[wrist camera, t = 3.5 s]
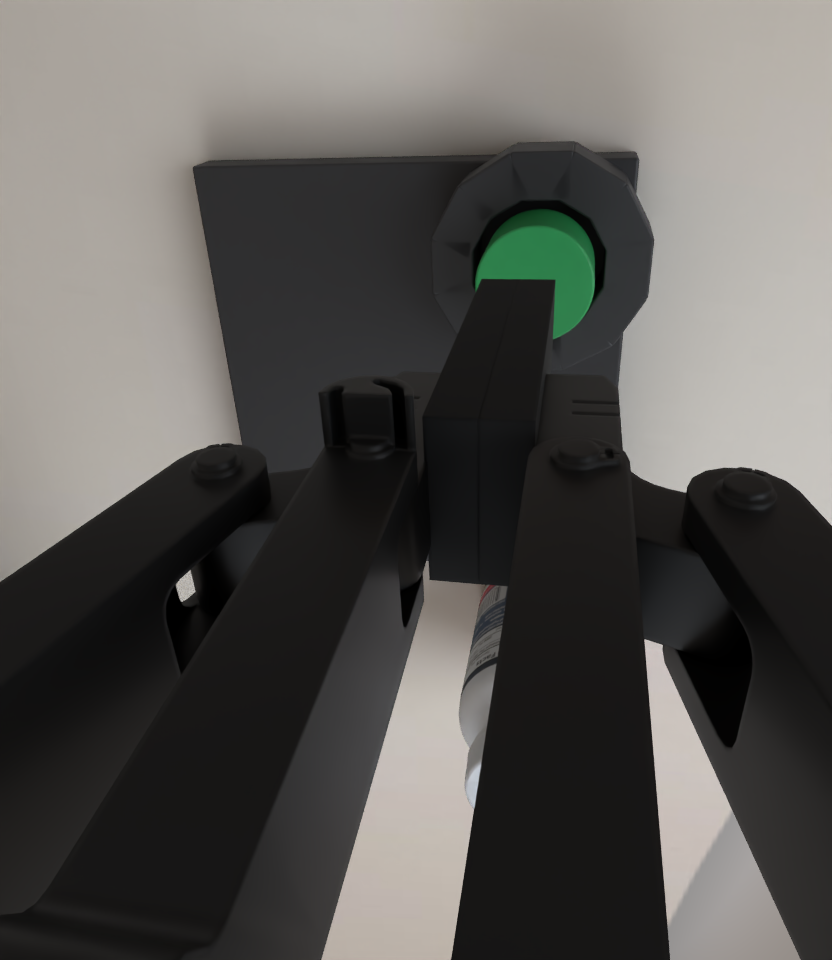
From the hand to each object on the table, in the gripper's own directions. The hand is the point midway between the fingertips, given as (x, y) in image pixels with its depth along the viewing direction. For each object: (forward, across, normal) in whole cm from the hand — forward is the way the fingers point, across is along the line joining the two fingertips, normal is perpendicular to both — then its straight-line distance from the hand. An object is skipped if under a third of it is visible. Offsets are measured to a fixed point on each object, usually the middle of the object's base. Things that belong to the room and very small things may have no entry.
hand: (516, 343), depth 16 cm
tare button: (+6, 0, 0) cm, 6 cm away
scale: (+9, -4, -4) cm, 10 cm away
